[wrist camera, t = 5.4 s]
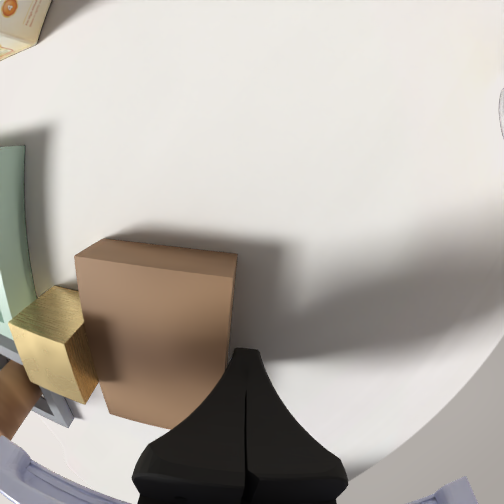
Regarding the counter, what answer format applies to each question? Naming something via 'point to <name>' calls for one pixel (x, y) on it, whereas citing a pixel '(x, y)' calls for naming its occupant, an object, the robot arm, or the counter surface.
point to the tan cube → (56, 344)
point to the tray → (13, 239)
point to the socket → (54, 402)
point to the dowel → (15, 397)
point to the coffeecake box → (20, 24)
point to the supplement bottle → (502, 111)
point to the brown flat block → (156, 325)
